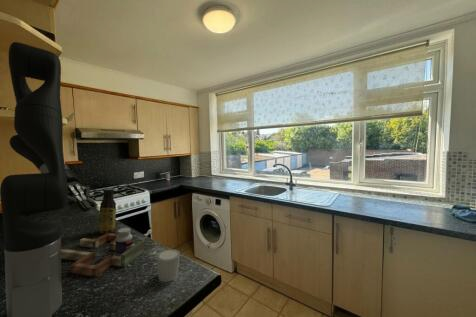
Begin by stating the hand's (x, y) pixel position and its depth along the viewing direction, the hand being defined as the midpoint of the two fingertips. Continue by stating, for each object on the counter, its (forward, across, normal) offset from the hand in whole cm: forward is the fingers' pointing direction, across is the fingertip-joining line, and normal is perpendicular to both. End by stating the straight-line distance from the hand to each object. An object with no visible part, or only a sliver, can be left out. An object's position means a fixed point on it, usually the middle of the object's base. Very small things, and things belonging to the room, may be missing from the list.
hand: (88, 209), depth 73 cm
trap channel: (+15, 0, +8) cm, 17 cm away
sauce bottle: (+6, +17, +17) cm, 25 cm away
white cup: (+36, -6, -12) cm, 39 cm away
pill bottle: (+21, +1, +2) cm, 22 cm away
